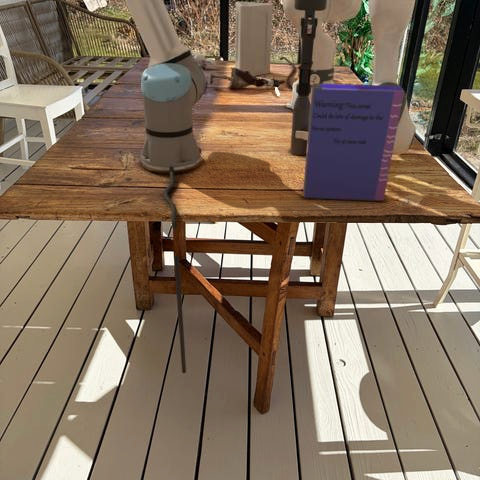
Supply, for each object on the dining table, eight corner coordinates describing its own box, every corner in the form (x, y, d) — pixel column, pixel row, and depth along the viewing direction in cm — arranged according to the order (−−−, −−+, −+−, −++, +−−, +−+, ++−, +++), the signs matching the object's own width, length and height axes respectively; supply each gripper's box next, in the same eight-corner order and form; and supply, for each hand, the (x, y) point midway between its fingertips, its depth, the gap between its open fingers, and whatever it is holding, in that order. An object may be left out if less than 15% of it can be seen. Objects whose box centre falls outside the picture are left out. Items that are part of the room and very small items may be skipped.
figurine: (210, 87, 179) (288, 95, 182) (212, 65, 176) (291, 73, 180) (208, 84, 201) (278, 91, 205) (210, 64, 198) (280, 71, 202)
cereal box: (379, 191, 109) (398, 84, 97) (383, 201, 105) (404, 90, 93) (303, 188, 110) (312, 82, 98) (304, 197, 106) (314, 88, 94)
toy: (171, 74, 211) (170, 58, 208) (148, 64, 229) (146, 49, 225) (218, 68, 223) (218, 53, 219) (192, 59, 240) (192, 44, 237)
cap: (312, 91, 124) (313, 83, 123) (308, 95, 121) (309, 87, 120) (298, 90, 125) (298, 82, 124) (294, 93, 122) (294, 85, 121)
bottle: (309, 150, 132) (315, 85, 123) (304, 156, 129) (309, 89, 119) (293, 148, 134) (298, 83, 125) (287, 153, 130) (292, 87, 121)
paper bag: (273, 76, 210) (276, 6, 196) (239, 77, 209) (240, 6, 194) (266, 67, 226) (268, 2, 212) (235, 67, 225) (235, 1, 210)
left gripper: (295, -12, 118) (288, 85, 130) (295, -7, 104) (288, 101, 116) (325, -11, 118) (316, 86, 130) (330, -6, 103) (319, 102, 115)
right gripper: (351, 111, 133) (302, 108, 135) (350, 135, 116) (293, 130, 118) (348, 133, 136) (300, 129, 138) (346, 159, 119) (291, 154, 121)
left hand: (303, 93), depth 123 cm, fingers closed on cap, 4 cm apart
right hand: (296, 130), depth 128 cm, fingers closed on bottle, 4 cm apart
